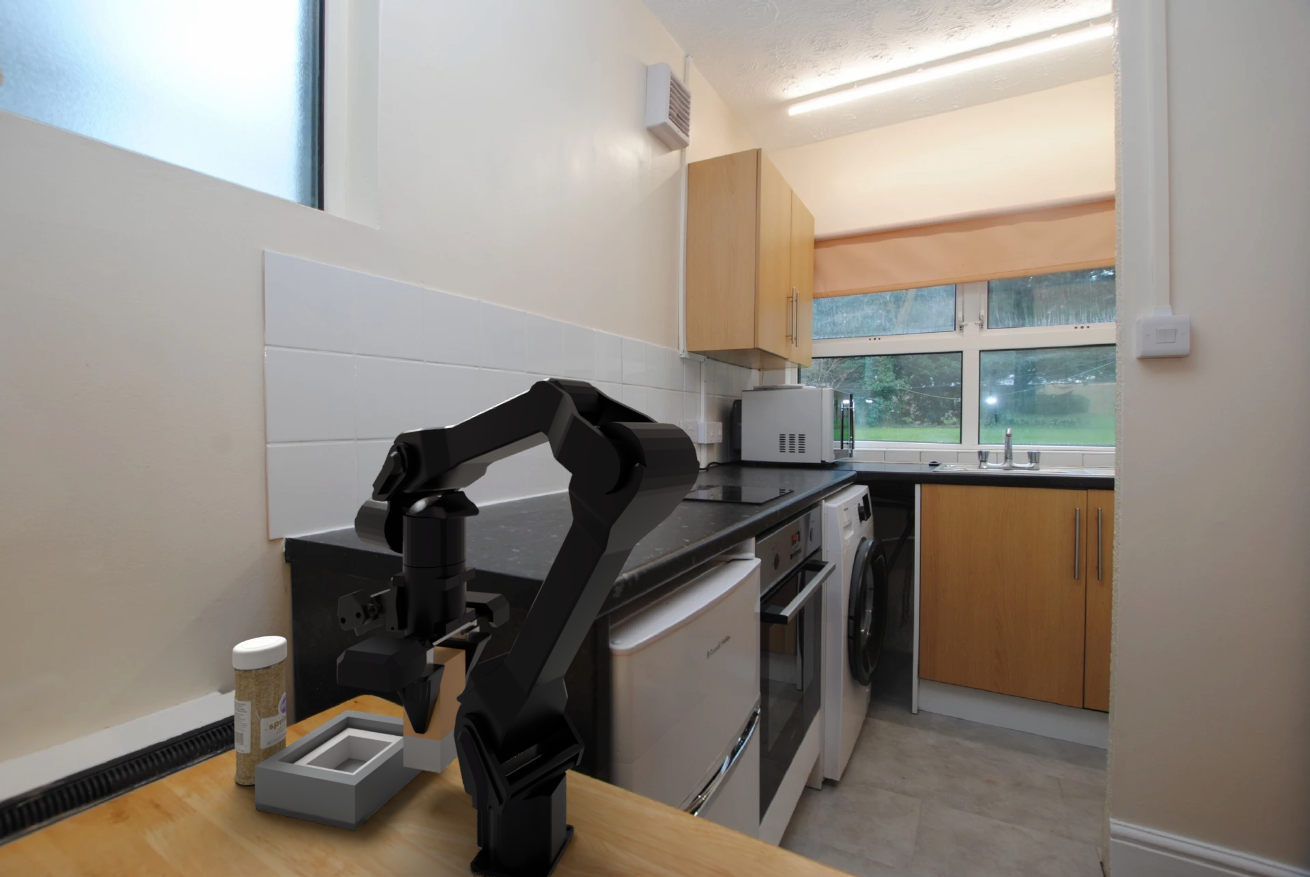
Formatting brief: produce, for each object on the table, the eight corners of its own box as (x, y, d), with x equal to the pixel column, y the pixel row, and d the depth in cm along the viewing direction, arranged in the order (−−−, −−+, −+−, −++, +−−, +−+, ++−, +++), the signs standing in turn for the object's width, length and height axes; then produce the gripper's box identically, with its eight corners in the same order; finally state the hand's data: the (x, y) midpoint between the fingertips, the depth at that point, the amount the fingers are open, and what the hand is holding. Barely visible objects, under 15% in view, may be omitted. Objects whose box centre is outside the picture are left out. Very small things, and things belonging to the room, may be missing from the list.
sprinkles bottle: (288, 777, 58) (287, 644, 57) (231, 793, 55) (230, 654, 55) (287, 755, 61) (286, 631, 61) (234, 769, 59) (233, 639, 59)
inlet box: (433, 760, 61) (433, 723, 61) (354, 830, 50) (354, 785, 50) (347, 745, 63) (347, 709, 63) (255, 809, 53) (255, 766, 53)
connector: (465, 749, 57) (465, 649, 57) (440, 773, 53) (440, 666, 53) (430, 744, 58) (430, 645, 58) (403, 766, 54) (403, 661, 54)
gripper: (424, 538, 66) (424, 672, 66) (282, 579, 48) (283, 763, 48) (511, 543, 63) (511, 683, 64) (395, 589, 45) (395, 784, 46)
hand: (435, 721), depth 55 cm, fingers closed on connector, 4 cm apart
